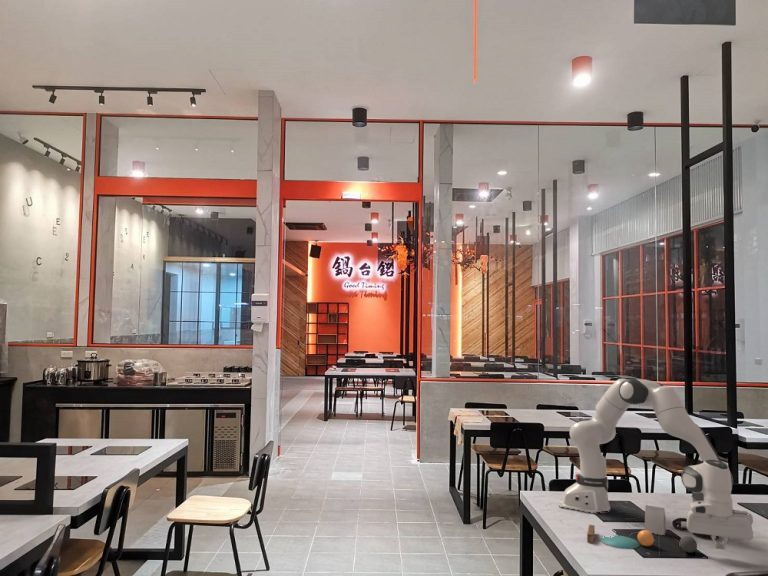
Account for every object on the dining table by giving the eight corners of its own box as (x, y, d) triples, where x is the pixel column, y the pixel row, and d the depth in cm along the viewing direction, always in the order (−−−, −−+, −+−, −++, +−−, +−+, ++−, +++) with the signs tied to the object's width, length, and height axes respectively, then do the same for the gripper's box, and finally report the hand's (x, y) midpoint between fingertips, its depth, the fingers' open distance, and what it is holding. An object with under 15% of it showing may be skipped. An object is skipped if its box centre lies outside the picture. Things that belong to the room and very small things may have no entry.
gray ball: (680, 553, 201) (680, 537, 202) (679, 548, 206) (679, 532, 207) (698, 556, 199) (697, 539, 200) (696, 550, 204) (696, 535, 205)
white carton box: (663, 535, 220) (663, 509, 220) (645, 532, 224) (644, 506, 224) (665, 533, 222) (665, 507, 223) (647, 529, 227) (646, 504, 227)
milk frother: (721, 541, 214) (720, 501, 216) (675, 535, 220) (674, 496, 221) (714, 530, 228) (713, 492, 229) (671, 524, 233) (670, 488, 234)
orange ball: (637, 547, 207) (637, 531, 207) (637, 542, 212) (637, 527, 212) (654, 549, 205) (654, 533, 205) (653, 544, 210) (653, 529, 210)
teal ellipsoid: (598, 544, 208) (598, 544, 208) (600, 533, 221) (600, 532, 221) (640, 551, 202) (640, 550, 202) (639, 538, 215) (639, 538, 215)
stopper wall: (587, 542, 210) (587, 534, 211) (589, 532, 221) (589, 524, 222) (593, 543, 210) (592, 534, 210) (594, 533, 221) (594, 525, 221)
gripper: (750, 509, 199) (752, 550, 198) (685, 502, 207) (686, 541, 206) (754, 514, 193) (756, 556, 192) (687, 506, 201) (688, 547, 200)
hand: (719, 548), depth 199 cm, fingers closed
